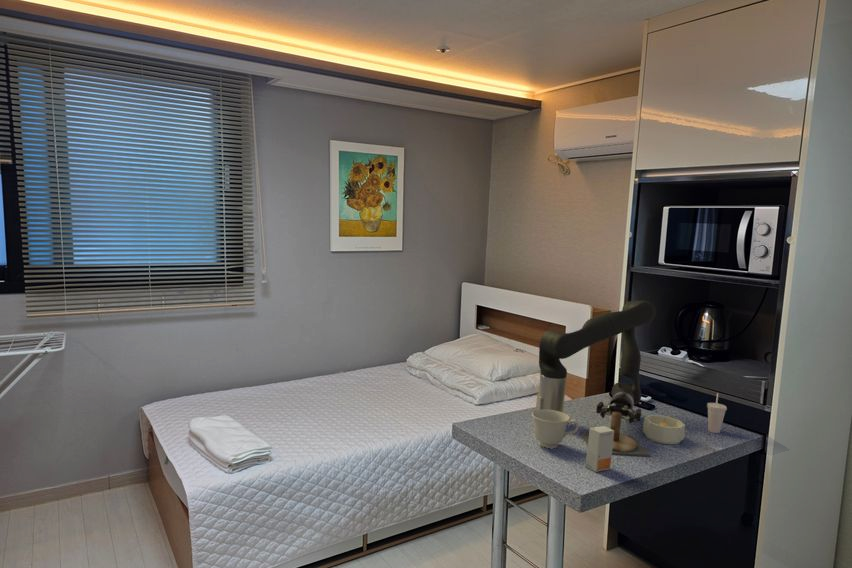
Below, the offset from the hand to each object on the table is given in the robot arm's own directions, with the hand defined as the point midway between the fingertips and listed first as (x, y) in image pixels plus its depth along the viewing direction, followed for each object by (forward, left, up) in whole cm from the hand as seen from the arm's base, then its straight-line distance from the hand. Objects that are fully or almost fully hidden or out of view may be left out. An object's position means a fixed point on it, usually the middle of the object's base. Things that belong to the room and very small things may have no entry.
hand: (616, 417), depth 183 cm
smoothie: (+42, +18, -9) cm, 47 cm away
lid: (0, -1, -8) cm, 9 cm away
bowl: (+19, +8, -9) cm, 23 cm away
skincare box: (-12, -20, -9) cm, 25 cm away
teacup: (-22, -5, -9) cm, 24 cm away
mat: (-1, -1, -9) cm, 9 cm away
